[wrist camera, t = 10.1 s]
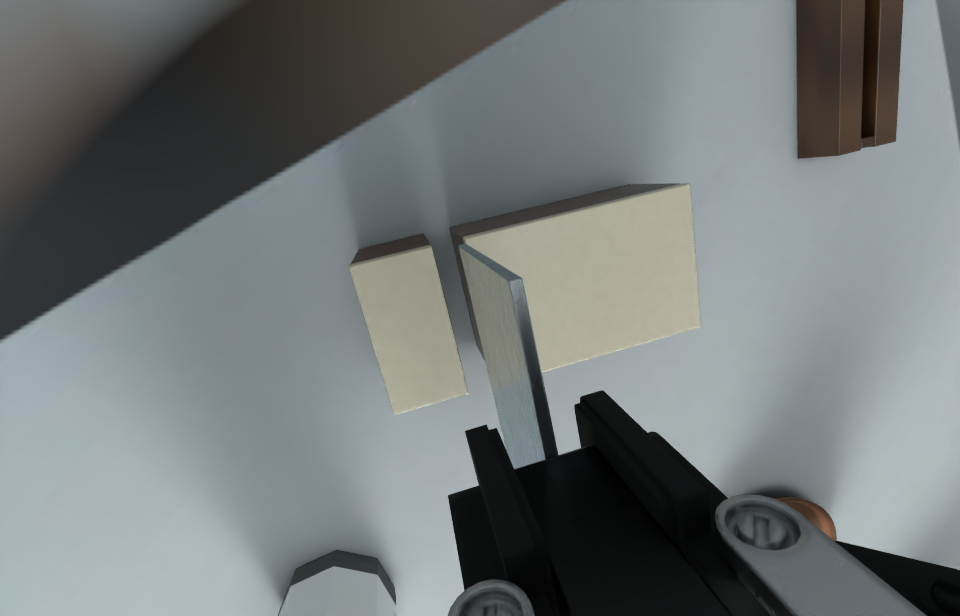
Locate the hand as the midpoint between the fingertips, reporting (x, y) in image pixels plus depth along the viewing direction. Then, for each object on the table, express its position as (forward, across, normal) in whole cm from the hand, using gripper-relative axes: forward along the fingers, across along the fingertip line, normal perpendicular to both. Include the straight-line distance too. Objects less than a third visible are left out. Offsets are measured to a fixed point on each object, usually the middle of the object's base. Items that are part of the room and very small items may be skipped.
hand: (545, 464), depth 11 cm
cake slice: (+19, +3, 0) cm, 19 cm away
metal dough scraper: (+7, 0, 0) cm, 7 cm away
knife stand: (+19, -27, -9) cm, 34 cm away
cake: (+19, -7, 0) cm, 20 cm away
